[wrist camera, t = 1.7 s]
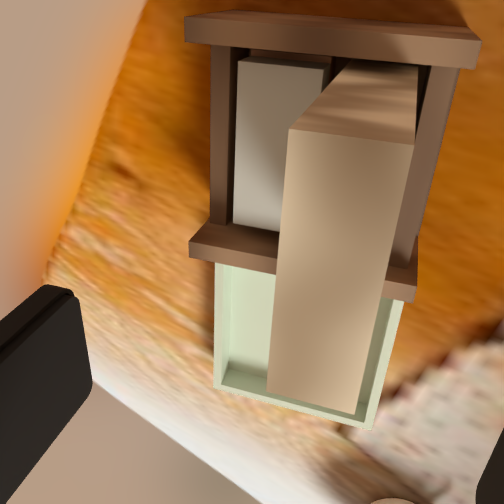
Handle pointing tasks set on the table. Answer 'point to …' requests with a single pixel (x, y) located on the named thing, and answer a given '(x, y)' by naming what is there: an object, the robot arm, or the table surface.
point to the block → (339, 229)
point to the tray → (258, 345)
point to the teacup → (392, 501)
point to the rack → (345, 48)
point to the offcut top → (268, 131)
